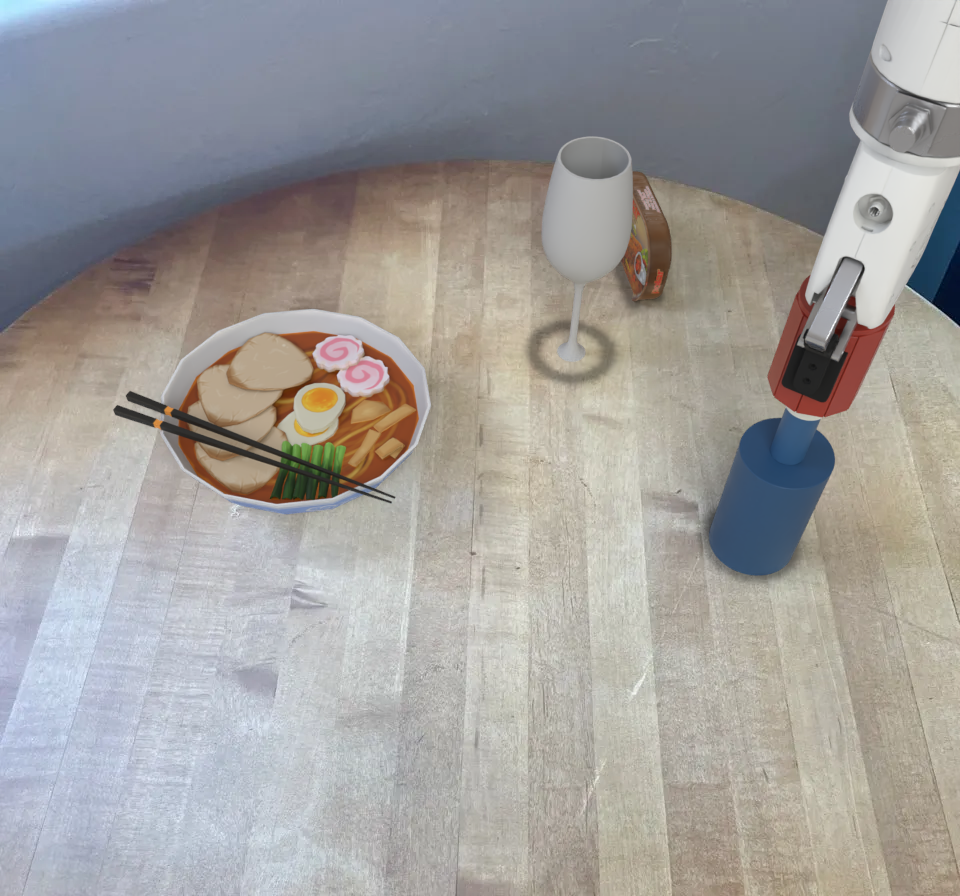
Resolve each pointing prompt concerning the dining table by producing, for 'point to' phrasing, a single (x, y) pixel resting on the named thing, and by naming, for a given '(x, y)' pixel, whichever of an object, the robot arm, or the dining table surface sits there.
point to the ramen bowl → (292, 410)
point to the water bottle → (771, 493)
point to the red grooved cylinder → (852, 372)
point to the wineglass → (587, 218)
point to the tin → (647, 243)
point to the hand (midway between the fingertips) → (824, 358)
